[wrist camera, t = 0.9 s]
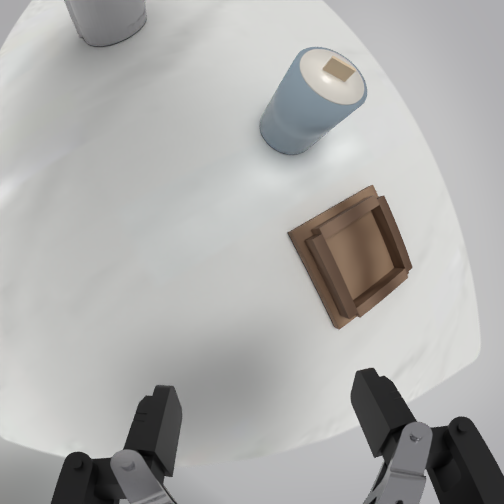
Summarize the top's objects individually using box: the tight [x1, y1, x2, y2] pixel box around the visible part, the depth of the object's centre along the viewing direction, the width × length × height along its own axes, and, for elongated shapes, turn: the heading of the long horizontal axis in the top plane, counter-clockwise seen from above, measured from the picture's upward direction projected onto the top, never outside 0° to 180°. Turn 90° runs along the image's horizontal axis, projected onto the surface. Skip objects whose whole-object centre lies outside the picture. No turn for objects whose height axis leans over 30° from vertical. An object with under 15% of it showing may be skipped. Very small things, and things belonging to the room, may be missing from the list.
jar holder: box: [288, 185, 413, 329], centre depth 28 cm, size 12×12×3 cm
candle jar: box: [260, 47, 367, 154], centre depth 21 cm, size 6×6×13 cm
